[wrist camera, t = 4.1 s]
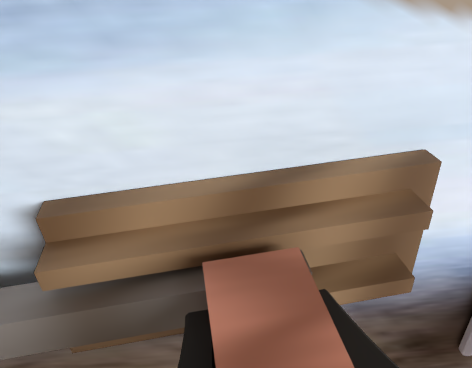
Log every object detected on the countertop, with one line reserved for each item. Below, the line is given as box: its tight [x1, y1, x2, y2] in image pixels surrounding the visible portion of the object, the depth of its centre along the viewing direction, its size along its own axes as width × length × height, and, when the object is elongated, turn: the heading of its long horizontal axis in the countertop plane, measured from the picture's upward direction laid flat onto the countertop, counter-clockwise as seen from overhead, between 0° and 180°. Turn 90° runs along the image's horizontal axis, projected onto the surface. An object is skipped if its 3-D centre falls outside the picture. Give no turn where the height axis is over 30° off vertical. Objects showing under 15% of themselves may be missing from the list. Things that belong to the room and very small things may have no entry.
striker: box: [0, 247, 354, 368], centre depth 11 cm, size 15×8×8 cm, turn 93°
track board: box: [34, 150, 442, 353], centre depth 14 cm, size 14×6×2 cm, turn 93°
